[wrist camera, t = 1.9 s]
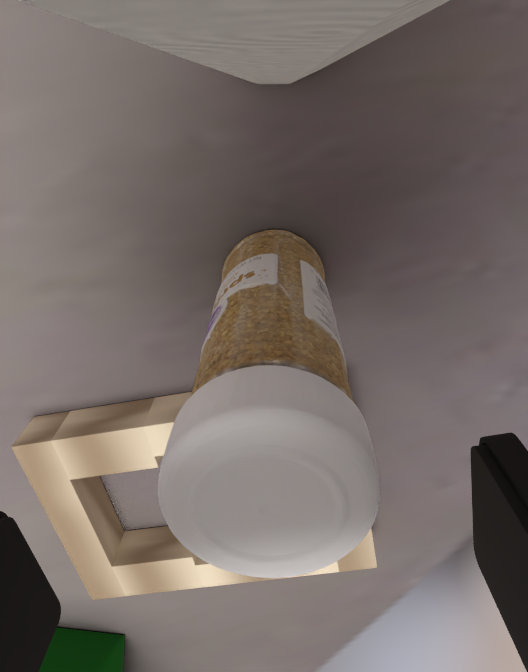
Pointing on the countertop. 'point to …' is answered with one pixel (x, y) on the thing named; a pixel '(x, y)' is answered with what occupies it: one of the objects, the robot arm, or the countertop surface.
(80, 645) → the milk carton
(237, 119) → the countertop surface
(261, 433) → the sprinkles bottle
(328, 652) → the countertop surface
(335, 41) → the paper towel roll
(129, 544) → the wooden frame
